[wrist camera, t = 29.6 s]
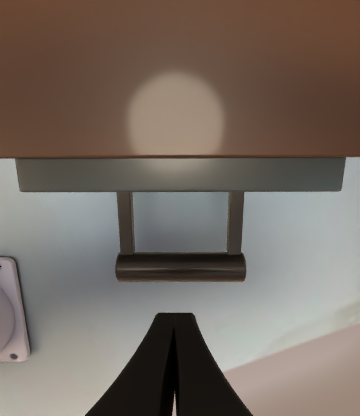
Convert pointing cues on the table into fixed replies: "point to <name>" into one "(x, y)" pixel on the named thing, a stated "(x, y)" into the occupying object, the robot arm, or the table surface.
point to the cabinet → (179, 78)
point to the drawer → (181, 182)
